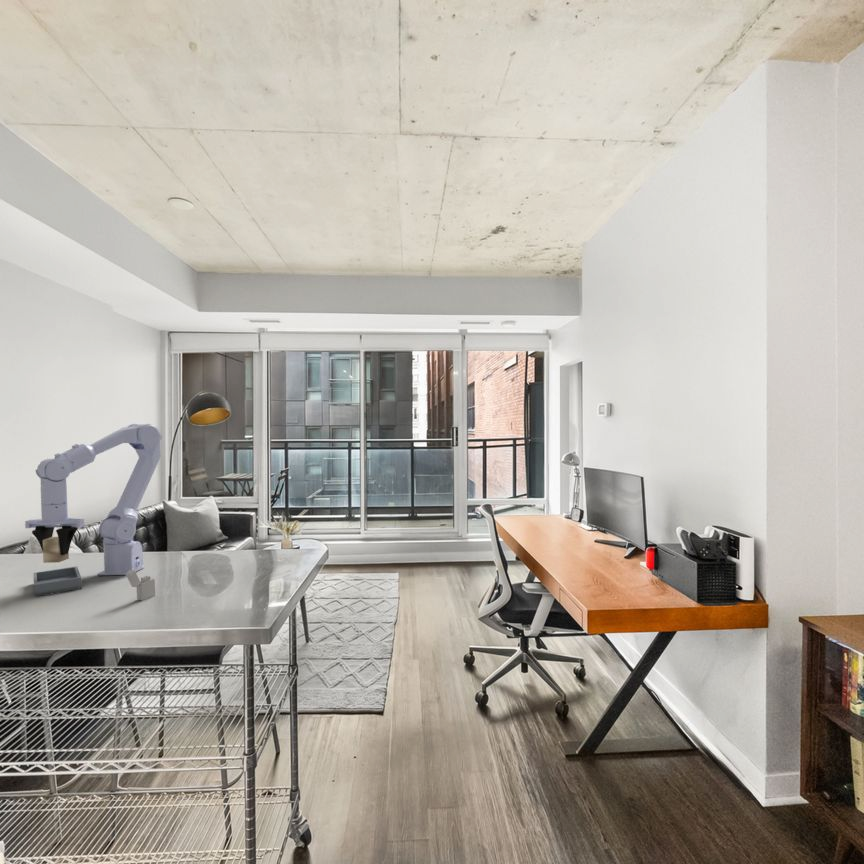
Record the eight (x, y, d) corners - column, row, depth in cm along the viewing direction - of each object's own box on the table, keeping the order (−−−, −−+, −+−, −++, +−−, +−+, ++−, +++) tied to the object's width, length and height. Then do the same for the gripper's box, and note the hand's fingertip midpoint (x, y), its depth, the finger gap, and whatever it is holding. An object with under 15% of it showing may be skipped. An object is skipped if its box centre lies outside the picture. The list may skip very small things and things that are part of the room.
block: (68, 558, 147) (67, 536, 147) (58, 562, 143) (57, 539, 143) (53, 558, 147) (53, 536, 147) (43, 562, 143) (42, 540, 143)
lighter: (150, 594, 137) (149, 563, 137) (155, 595, 136) (154, 563, 136) (125, 604, 130) (124, 571, 130) (131, 604, 130) (130, 571, 129)
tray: (77, 576, 154) (77, 566, 154) (81, 588, 143) (81, 577, 143) (33, 583, 148) (33, 572, 148) (34, 596, 137) (34, 585, 137)
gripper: (15, 506, 141) (17, 558, 141) (71, 505, 141) (73, 557, 141) (35, 502, 148) (37, 551, 148) (88, 501, 148) (90, 550, 148)
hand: (56, 554), depth 145 cm, fingers closed on block, 4 cm apart
